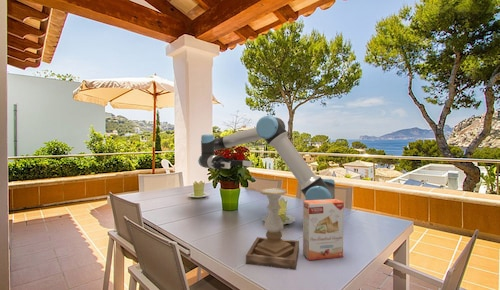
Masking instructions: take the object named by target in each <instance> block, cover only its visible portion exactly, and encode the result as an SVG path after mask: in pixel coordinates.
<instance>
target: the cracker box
mask: <svg viewBox="0 0 500 290" xmlns="http://www.w3.org/2000/svg"><path fill="white" fill-rule="evenodd" d="M302 205H303V206H302V210H303V211H302V254H303V256H304V257H305V258H306V259H307V260H308V261H315V260H324V259H334V258H336V259H337V258H342V257H344V215H345V214H344V212H345V211H344V210H345V209H344V205H345V203H344V201H342V200H339V199H337V198H335V199H325V200H306V199H305V200H303V201H302Z"/></svg>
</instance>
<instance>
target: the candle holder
mask: <svg viewBox="0 0 500 290" xmlns="http://www.w3.org/2000/svg"><path fill="white" fill-rule="evenodd" d="M287 190H288V189H285V188H280V187H266V188H262V189H260V190H259V191H260V194H262V195H265V197H266V198H267V199H268V204H267V206H266V209H267V210H268V212H269V213H268V216H267V218H266V219H265V221H264V223H263V225H264V229H265V230H266V233H265V238H267V239H265V240H264V241H263V242H261V243H259V244H257V247H256V248H255V249H254V253H256V254H258V255H263V256H272V257H282V258H285V257H287V256H289V255H291V254H293V252H294V248H293V247H291V244H290V243H287V242H285V241H283V240H284V239H283V240H282V238H283V234H282V232H281V231H282V230H283V229H284V222H283V220H282V218H281V217H280V215H279V211H280V209H281V205H280V203H279V200H280V199H281V196H283V195H286V194H287V193H288V191H287Z"/></svg>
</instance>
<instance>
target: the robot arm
mask: <svg viewBox="0 0 500 290" xmlns="http://www.w3.org/2000/svg"><path fill="white" fill-rule="evenodd" d="M200 138H201V139H200V145H201V146H200V147H201V149H200V151H201V155H200V156H199V157H198V160H197V161H198V165H200V167H202V168H206V169H213V171H215V170H219V171H220V170H224V169H228V170H230V169H231V167H233V166H243V167H252V166H253V161H252V160H246V159H245V158H244V159H243V160H241V159H239V160H238V159H227V158H226V157H224V156H223V155H216V154H215V151H220V150H219V149H222V148H225V149H228V148H231V147H236V146H239V145H244V144H248V143H252V142H256V141H259V140H263V139H264V141H265V142H266V143H267V145H268V146H270V147H273V148H274V149H275V151H276V152H277V154H278V155H279V156H280V158H281V159H282V161H283V162H284V164H285V165H286V166H287V168H288V169H289V171H290V172H291V173H292V175H293V176H294V178H295V179H296V180H297V182H298V183H299V185H300V191H301V192H302V194H303V196H304V199H305V200H325V199H336V194H335V193H336V191H335V190H336V187H335V186H336V183H335V180H334V179H333V178H322V176H319V175H316V174H315V173H314V171H313V170H312V169H311V167H310V166H309V164H308V163H307V162H306V161H305V159H304V158H303V156H302V155H301V154H300V153H299V152H298V150H297V149H296V147H295V146H294V144H293V143H292V142H291V140H290V139H289V138H288V131H287V130H286V124H285V122H284V121H283V120H282V119H281V118H280V117H275V116H273V115H263V116H262V117H260V118H259V119H258V120H257V123H256V126H255V127H252V128H249V129H246V130H242V131H238V132H234V133H231V134H228V135H224V136H221V137H215V135H214V134H202V135H201V137H200Z"/></svg>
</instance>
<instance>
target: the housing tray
mask: <svg viewBox="0 0 500 290" xmlns="http://www.w3.org/2000/svg"><path fill="white" fill-rule="evenodd" d="M265 239H267V237H259V236H258V237H256V238H255V240H254V241H253V243H252V245H251V246H250V248H249V250H248V251H247V253H246V254H245V264H247V265H255V266H262V265H263V266H264V267H271V266H272V267H274V268H279V267H280V268H282V269H288V268H290V269H289V270H296V267H297V262H298V257H299V251H300V241H299V240H291V239H282V238H281V239H282V240H283V241H285V242H287V243H290V244H291V247H293V248H294V252H293V254H291V255H289V256H287V257H285V258H282V257H272V256H263V255H258V254H256V253H254V249H255V248H256V247H257V244H259V243H261V242H263V241H264V240H265ZM280 268H279V269H280Z"/></svg>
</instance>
